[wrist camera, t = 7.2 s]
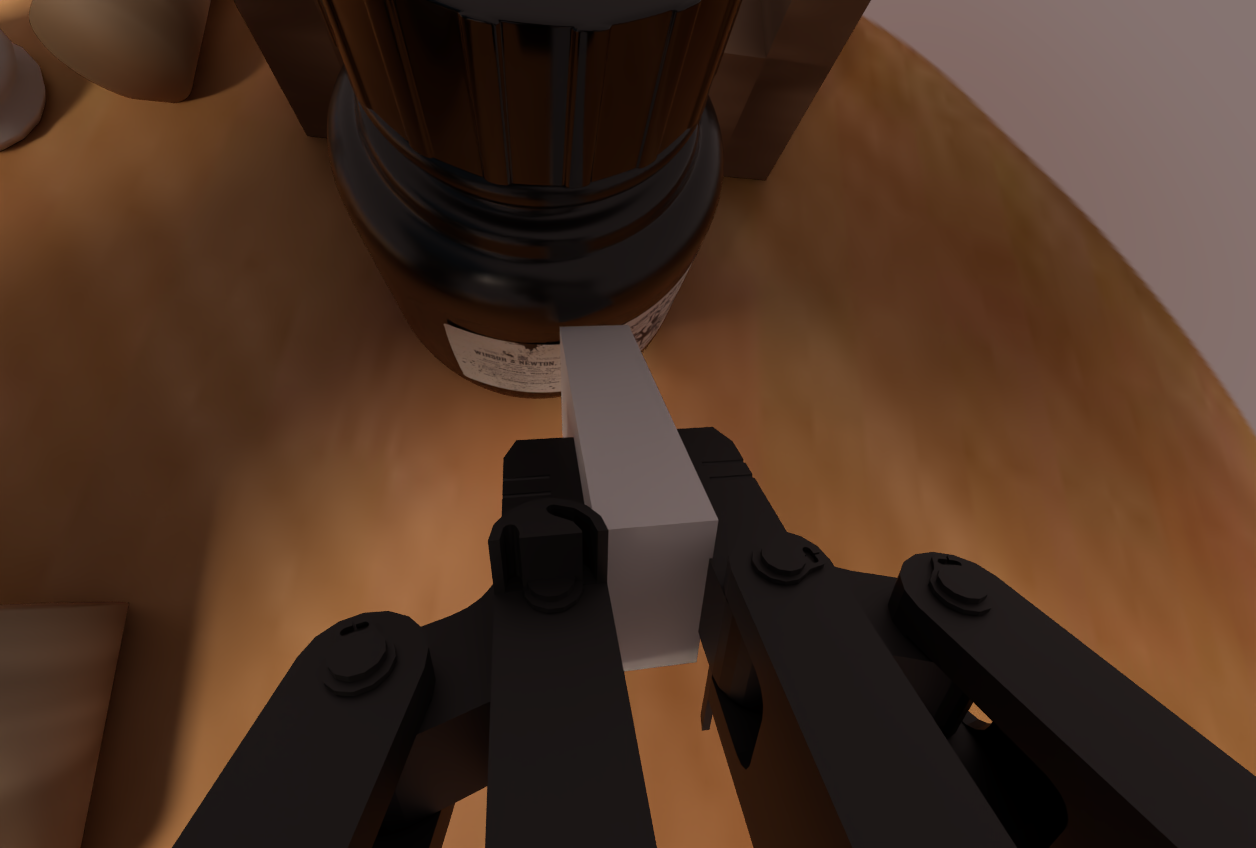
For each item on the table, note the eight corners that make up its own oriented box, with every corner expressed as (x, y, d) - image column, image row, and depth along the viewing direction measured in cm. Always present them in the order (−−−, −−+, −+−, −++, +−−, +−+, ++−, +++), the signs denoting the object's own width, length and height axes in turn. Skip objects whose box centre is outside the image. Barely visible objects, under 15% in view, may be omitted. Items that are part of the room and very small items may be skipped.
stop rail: (307, 135, 19) (145, -161, 11) (318, 62, 20) (174, -264, 12) (765, 180, 21) (893, -40, 13) (760, 112, 22) (879, -132, 14)
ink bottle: (509, 468, 17) (446, 269, 6) (327, 262, 18) (-59, -288, 6) (727, 287, 20) (986, -102, 8) (560, 112, 21) (585, -468, 9)
